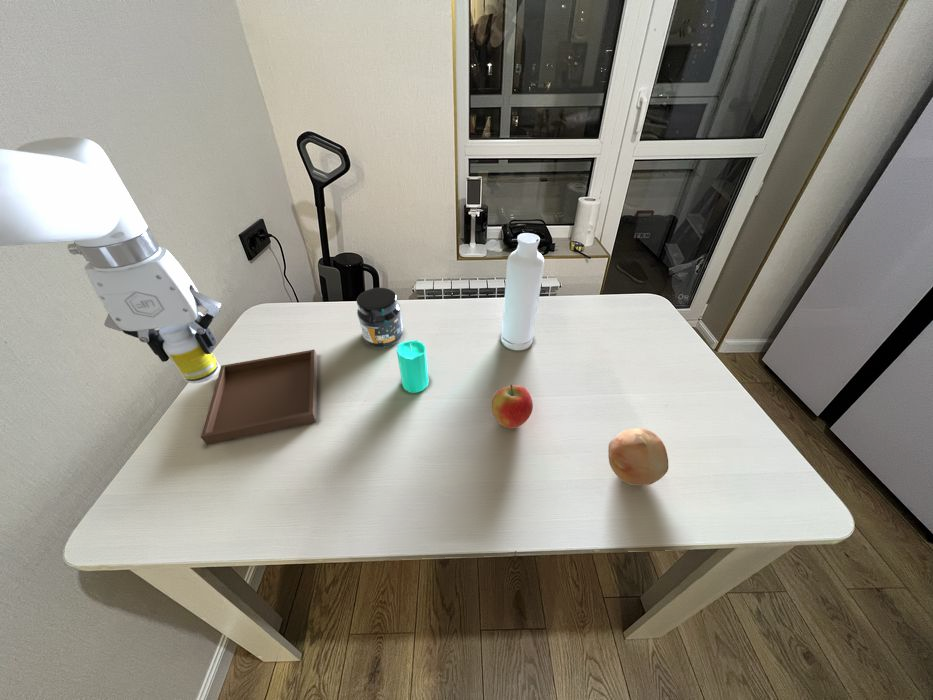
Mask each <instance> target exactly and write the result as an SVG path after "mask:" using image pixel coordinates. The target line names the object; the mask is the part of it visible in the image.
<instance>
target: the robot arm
mask: <svg viewBox="0 0 933 700" xmlns="http://www.w3.org/2000/svg"><path fill="white" fill-rule="evenodd" d="M66 242H67V243H68V242H73V243H68V244H67V250H68V252H69V253H70V254H72V255H73V256H74V255H75V256H76V255H80V256H83V258H84V259H85V261H86V262H87V263H86V265H85V266H84V270H85V273H86V275H87V277H88V280H89V282H90V284H91V287H92V289H93V290H94V292H95V294H96V296H97V298H98V299H99V301H100V303H101V305H102V306H103V308H104V309H105V310H106V312H107V316H106V318H105V320H104V323H103V324H104V326H105V327H106V328H109V329H112V330H115V331H119V332H122V333H124V334H125V335H129V337H130V336H131V337H133V338H137V339H138V341H139V342H141V343H144V344H147V345H148V347H149V348H150V349H151V351H152V352H153V353H154V355H156V356H157V357H158V358H159V360H160V361H161V362H162V363H165V362H168V361H169V360H170V358H169V357H168V355H167V354H166V352H165V351H164V349H163V343H164V340H163V338H162V337H161V335H160V334H159V329H160V328H162V327H168V326H175V325H181V324H187V325H188V326H190V327H191V328H192V329H193V330H194V331H196V334H195V338H196V340H197V341H198V343H199V345H200V346H201V348H202V349H203V351H204V353H205V354H211V353H213V349H214V347H215V346H216V343H217V340H216V337H215V336H214V333H212V330H211V329H210V325H211V323H212V322H213V320H214V319H215V318H216V316H218V314H219V313H220V312H221V309H222V306H223V305H222V303H221V302H219V301H217V300H216V299H213V298H211V297H209V296H207V295H205V294H202V293H201V292H199V291H198V289H197V287H196V286H195V284H194V282H193V281H192V279H191V278H190V276H189V275H188V273H187V272H186V270H185V269H184V268H183V267H182V266H181V265H182V264H180V262H179V261H178V260H177V259H176V258H175V256H173V254H171V253H170V251H169V250H168V249H167V248H166V247H160V245H159V243H158V241H157V239H156V238H155V236H154V234H153V233H152V231H151V230H150V227H149V226H148V224H147V223H146V221H145V219H144V218H143V215H142V213H141V212H140V211H139V209H138V207H137V205H136V203H135V202H134V200H133V199H132V196H131V195H130V193H129V191H128V190H127V188H126V186H125V185H124V183H123V181H122V179H121V177H120V175H119V174H118V172H117V170H116V169H115V167H114V165H113V164H112V162H111V160H110V158H109V156H108V155H107V154H106V152H105V151H104V149H103V148H102V147H101V146H100V145H99V144H98V143H96V142H95V141H93V140H91V139H89V138H85V137H79V136H62V137H61V136H60V137H52V138H45V139H40V140H34V141H29V142H26V143H24V144H22V145H20V146H18V147H17V148H16V149H13V150H12V149H6V148H0V247H5V246H6V247H8V246H9V247H11V246H24V245H25V246H26V245H40V244H54V243H55V244H56V243H66ZM200 307H202V308H204V309H206V310H205V311H204V313H201V311H200V309H199V308H200Z"/></svg>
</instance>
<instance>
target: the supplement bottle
mask: <svg viewBox="0 0 933 700" xmlns="http://www.w3.org/2000/svg"><path fill="white" fill-rule="evenodd" d="M158 330H159V334H160V335H161V337H162V338H163V340H164V343H163V349H164V351H165V352H166V354H167V355H168V357H169V360H170V361H171V362H172V364H173V365H174V367H175V368H176V370H177V371H178V372H179V374H180V375H181V377H182V379H183V381H185V382H187V383H190V384H201V383H204V382H207V381H209V380H210V379H212V378H213V377H215V376H216V375H217V374H219V372H220V369H221V365H220V363H219V362H218V360H217V358H216V356H215V354H214V353H213V352H212V353H211V354H205V353H204V351H203V349H202V348H201V346H200V345H199V343H198V341H197V340H196V338H195V334H196V331H194V330H193V329H192V328H191V327H190V326H188V325H187V324H181V325H175V326H168V327H162V328H158Z"/></svg>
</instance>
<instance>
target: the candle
mask: <svg viewBox="0 0 933 700" xmlns="http://www.w3.org/2000/svg"><path fill="white" fill-rule="evenodd" d="M396 355H397V360H398V361H397V362H398V368H399V374H400V380H401V386H402V387H403V389H404V390H405V391H406V392H408V393H415V394H417V393H420V392H422V391H424V390H425V389H426V388H427V387H428V386H429V373H428V372H429V371H428V361H427V350H426V345H425V344H424V343H423V342H422V341H419V340H417V339H416V340H407V341H402V342H401V343H399V344H398V345H397V348H396Z"/></svg>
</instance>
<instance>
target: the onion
mask: <svg viewBox="0 0 933 700" xmlns="http://www.w3.org/2000/svg"><path fill="white" fill-rule="evenodd" d="M607 448H608V449H607V450H608V451H607V452H608V453H607V454H608V457H607V458H608V463H609V466H610V468H611V470H612V471H613V473H614V475H616V477H617V478H618V479H620V480H621V481H622V482H624V483H626V484H629V485H633V486H647V485H652V484H655V483H656V482H658V481H659V480H661V479H663V477H665V475H666V474H667V473H668V471H669V456H668V453H667V448H666V446H665V444H664V442H663V441H662V439H661V438H660V437H659V436H658V435H657V434H656V433H655V432H653V431H651V430H649V429H646V428H642V427H641V428H640V427H633V428H628V429H624V430H622V431H621V432H619V433H617V434H616V435H615V436H614V437H613V438H611V440H610V441H609V442H608V447H607Z"/></svg>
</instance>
